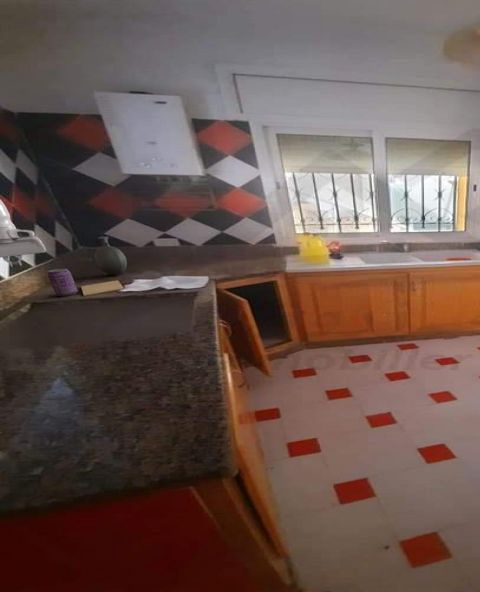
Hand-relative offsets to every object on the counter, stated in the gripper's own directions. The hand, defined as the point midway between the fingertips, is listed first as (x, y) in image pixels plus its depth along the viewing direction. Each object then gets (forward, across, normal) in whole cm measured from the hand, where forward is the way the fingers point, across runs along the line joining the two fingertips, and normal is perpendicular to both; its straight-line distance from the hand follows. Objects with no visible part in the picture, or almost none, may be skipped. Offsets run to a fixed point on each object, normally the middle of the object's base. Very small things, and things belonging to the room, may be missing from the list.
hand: (16, 266), depth 137 cm
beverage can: (+16, +11, 0) cm, 19 cm away
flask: (+17, +31, +29) cm, 45 cm away
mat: (+16, +23, +1) cm, 28 cm away
